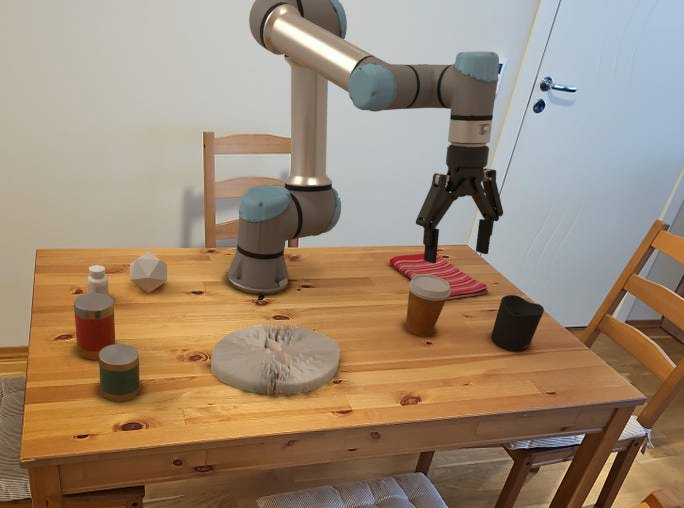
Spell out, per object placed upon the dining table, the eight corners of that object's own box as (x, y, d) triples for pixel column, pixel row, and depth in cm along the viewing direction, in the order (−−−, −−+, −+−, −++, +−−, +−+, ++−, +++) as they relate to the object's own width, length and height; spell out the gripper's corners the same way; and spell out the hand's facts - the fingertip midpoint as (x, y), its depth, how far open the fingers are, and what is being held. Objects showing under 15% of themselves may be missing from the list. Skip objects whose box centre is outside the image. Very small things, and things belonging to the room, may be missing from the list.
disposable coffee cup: (439, 343, 145) (452, 296, 139) (397, 334, 146) (408, 287, 140) (439, 323, 153) (451, 278, 146) (399, 315, 154) (410, 270, 148)
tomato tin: (82, 339, 130) (78, 290, 124) (118, 341, 131) (116, 294, 125) (73, 358, 124) (69, 308, 118) (111, 361, 125) (109, 312, 119)
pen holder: (499, 353, 144) (512, 314, 139) (482, 331, 152) (494, 294, 146) (537, 353, 146) (551, 315, 140) (518, 332, 154) (531, 295, 148)
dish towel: (434, 258, 187) (436, 249, 186) (488, 294, 170) (491, 285, 169) (386, 264, 180) (388, 255, 178) (438, 302, 163) (441, 293, 161)
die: (174, 294, 152) (174, 252, 153) (152, 288, 144) (151, 244, 145) (145, 297, 156) (145, 256, 156) (121, 291, 147) (121, 249, 148)
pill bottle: (112, 297, 146) (111, 266, 142) (101, 305, 142) (100, 274, 138) (95, 293, 147) (94, 262, 143) (84, 301, 143) (82, 269, 139)
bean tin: (105, 378, 120) (103, 342, 115) (142, 381, 120) (141, 345, 116) (97, 400, 114) (94, 363, 110) (136, 403, 114) (135, 366, 110)
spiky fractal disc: (192, 345, 132) (192, 334, 131) (309, 326, 145) (310, 315, 143) (235, 408, 116) (236, 396, 115) (362, 380, 129) (365, 369, 127)
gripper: (429, 150, 109) (419, 270, 118) (532, 142, 120) (516, 253, 129) (401, 146, 115) (394, 261, 124) (502, 139, 126) (488, 245, 135)
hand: (456, 257), depth 126 cm, fingers open, 13 cm apart
